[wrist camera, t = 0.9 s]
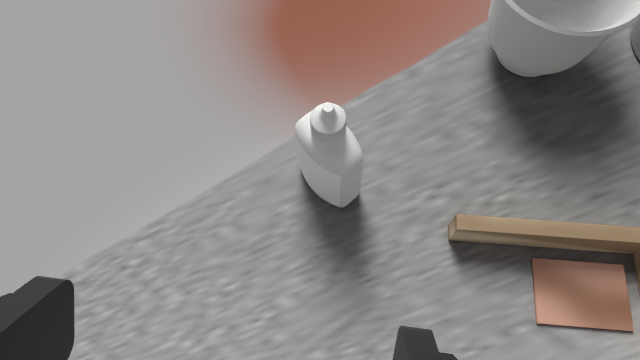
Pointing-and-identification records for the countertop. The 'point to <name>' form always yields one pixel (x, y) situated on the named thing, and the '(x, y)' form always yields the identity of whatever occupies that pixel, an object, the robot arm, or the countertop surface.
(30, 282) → the robot arm
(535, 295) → the tan l-shaped piece
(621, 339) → the countertop surface
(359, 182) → the eye dropper bottle
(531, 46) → the teacup
